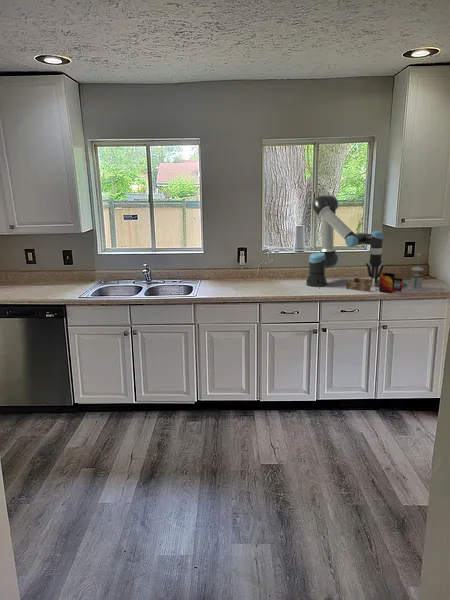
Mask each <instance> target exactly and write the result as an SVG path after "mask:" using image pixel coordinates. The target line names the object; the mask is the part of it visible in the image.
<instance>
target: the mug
mask: <svg viewBox="0 0 450 600" xmlns="http://www.w3.org/2000/svg"><path fill="white" fill-rule="evenodd" d="M379 279H380V283H379V287H378V292H379V293H383V294H392V293H394V292H402V290H403V289H402V288H403V287H402V281H403V278H399V277H396V274H395V273H390V272H383V273H381V274H380V277H379ZM394 281H400V289H396V288H394Z"/></svg>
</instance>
